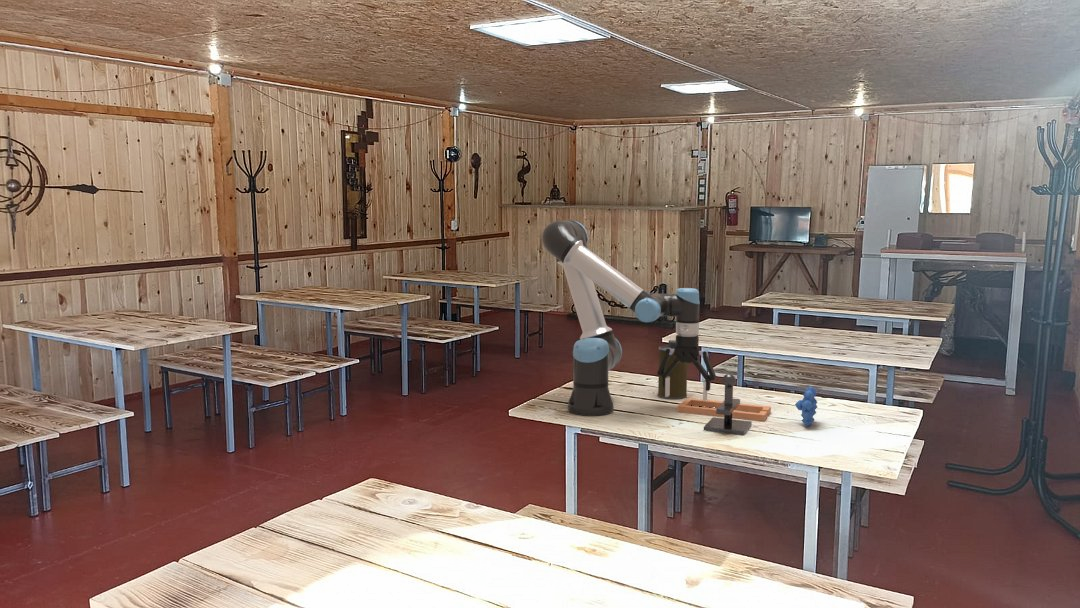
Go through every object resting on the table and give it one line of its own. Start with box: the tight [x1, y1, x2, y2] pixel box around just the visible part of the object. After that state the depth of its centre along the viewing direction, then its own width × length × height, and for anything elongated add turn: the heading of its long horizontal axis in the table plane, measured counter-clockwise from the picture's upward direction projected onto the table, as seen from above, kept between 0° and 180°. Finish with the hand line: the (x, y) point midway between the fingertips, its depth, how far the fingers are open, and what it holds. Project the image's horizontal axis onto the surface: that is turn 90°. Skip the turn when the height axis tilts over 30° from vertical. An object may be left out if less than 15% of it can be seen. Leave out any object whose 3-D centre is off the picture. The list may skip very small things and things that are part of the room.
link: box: [676, 397, 772, 422], centre depth 260 cm, size 28×12×2 cm, turn 64°
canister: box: [657, 339, 688, 400], centre depth 282 cm, size 11×10×20 cm
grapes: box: [794, 385, 818, 427], centre depth 245 cm, size 12×7×12 cm, turn 152°
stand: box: [703, 373, 753, 436], centre depth 241 cm, size 12×15×17 cm
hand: (686, 398), depth 265 cm, fingers open, 12 cm apart
